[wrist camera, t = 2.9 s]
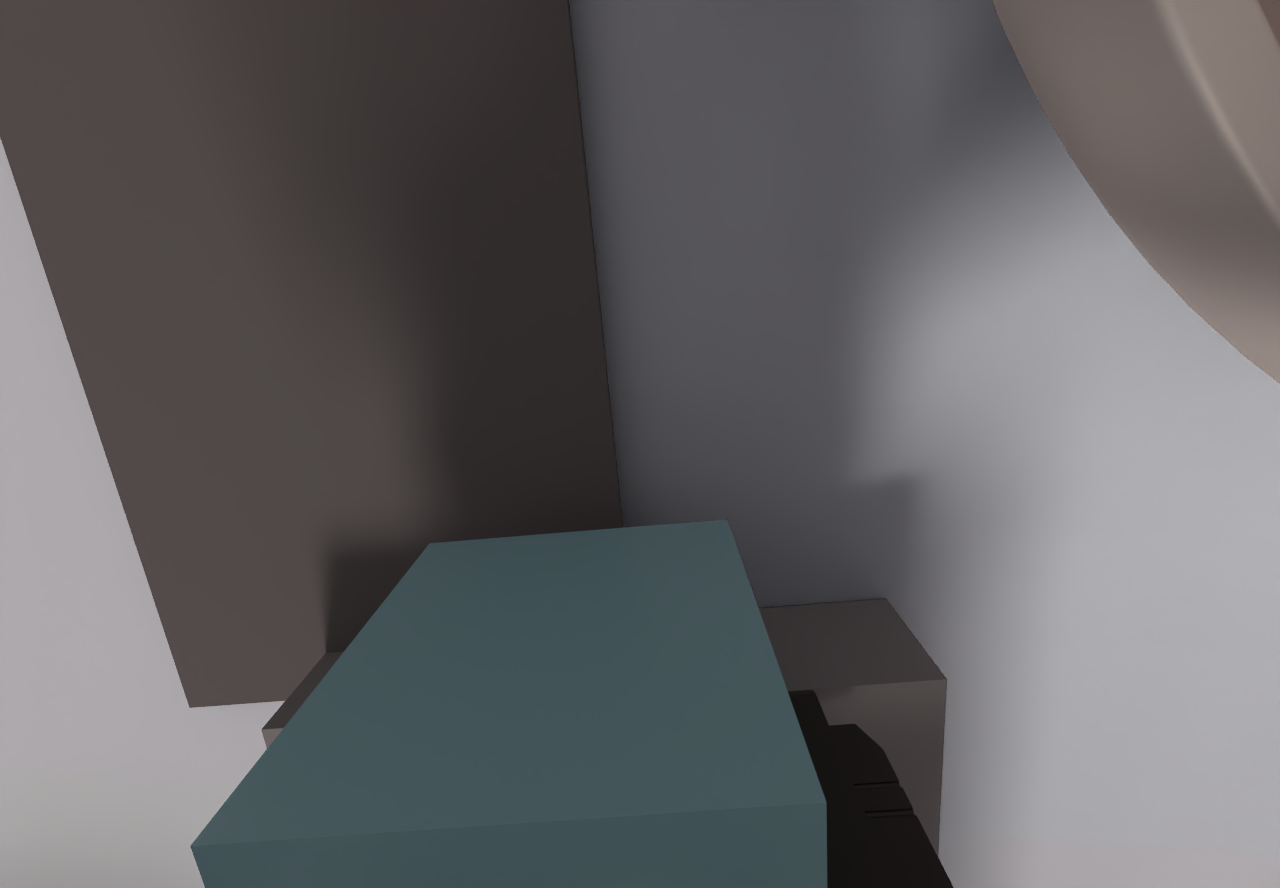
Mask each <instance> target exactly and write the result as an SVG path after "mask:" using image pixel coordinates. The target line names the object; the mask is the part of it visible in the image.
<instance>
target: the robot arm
mask: <svg viewBox="0 0 1280 888" xmlns="http://www.w3.org/2000/svg"><path fill="white" fill-rule="evenodd" d="M788 694H789V697H790V700H791V702H792V705H793V708H794V711H795V714H796V717H797V720H798V722H799V725H800V728H801V731H802V734H803V737H804V740H805V742H806V745H807V748H808V751H809V754H810V757H811V760H812V762H813V765H814V768H815V771H816V774H817V777H818V780H819V783H820V785H821V788H822V791H823V794H824V797H825V800H826V807H827V888H953V886H952V884H951V882H950V880H949V878H948V876H947V874H946V872H945V870H944V868H943V866H942V864H941V862H940V860H939V858H938V856H937V854H936V852H935V850H934V848H933V846H932V844H931V842H930V840H929V838H928V836H927V835H926V833H925V831H924V829H923V827H922V825H921V823H920V821H919V819H918V817H917V815H914V812H913V807H912V805H911V803H910V801H909V799H908V797H907V795H906V793H905V791H904V789H903V787H900V784H899V779H898V778H897V776H896V774H895V772H894V770H893V768H892V766H891V764H890V762H889V760H888V758H887V756H886V754H885V752H884V750H883V749H882V748H881V747H880V746H879V745H878V744H877V743H876V742H875V741H874V740H873V739H872V738H870V737H869V736H868V735H867V734H866V733H865V732H864V731H863V730H862V729H861V728H859V727H858V726H857V725H856V724H843V725H829V724H828V722H827V720H826V717H825V715H824V712H823V710H822V707H821V705H820V703H819V700H818V698H817V696H816V694H815V692H814V691H813V690H799V691H788Z"/></svg>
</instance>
